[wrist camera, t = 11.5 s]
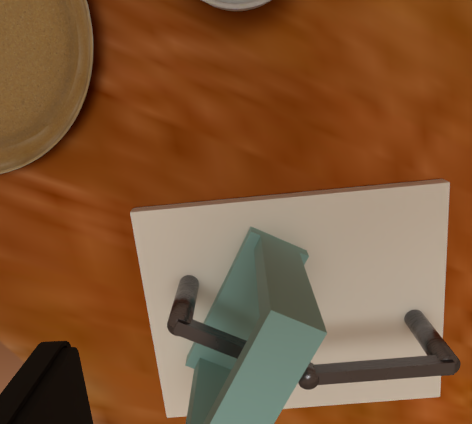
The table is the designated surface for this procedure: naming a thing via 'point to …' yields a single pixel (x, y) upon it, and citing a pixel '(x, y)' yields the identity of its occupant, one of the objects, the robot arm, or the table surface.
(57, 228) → the table surface
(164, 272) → the base board
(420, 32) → the table surface
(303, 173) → the table surface
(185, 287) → the dark hinged linkage
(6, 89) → the plant saucer
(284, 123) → the table surface
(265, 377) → the teal rectangular frame
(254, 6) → the teacup
